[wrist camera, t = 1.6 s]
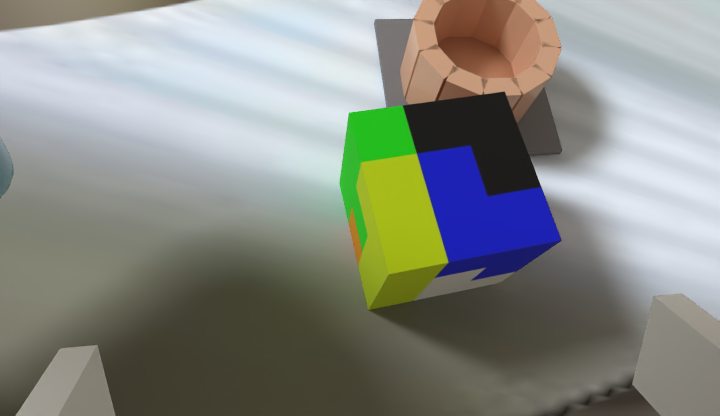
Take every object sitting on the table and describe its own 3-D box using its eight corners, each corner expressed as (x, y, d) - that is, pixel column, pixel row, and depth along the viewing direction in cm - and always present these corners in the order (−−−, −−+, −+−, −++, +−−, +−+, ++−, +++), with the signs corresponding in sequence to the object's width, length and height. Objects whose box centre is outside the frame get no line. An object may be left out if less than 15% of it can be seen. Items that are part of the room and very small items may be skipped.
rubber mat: (394, 161, 40) (395, 159, 40) (374, 23, 45) (374, 19, 45) (559, 153, 42) (562, 150, 41) (521, 21, 47) (524, 17, 47)
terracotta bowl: (411, 141, 40) (427, 98, 35) (393, 32, 44) (405, -22, 39) (540, 135, 42) (576, 93, 36) (512, 30, 46) (540, -23, 40)
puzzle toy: (499, 283, 37) (561, 240, 28) (368, 310, 36) (388, 274, 26) (460, 164, 41) (504, 91, 31) (339, 183, 39) (349, 112, 30)
